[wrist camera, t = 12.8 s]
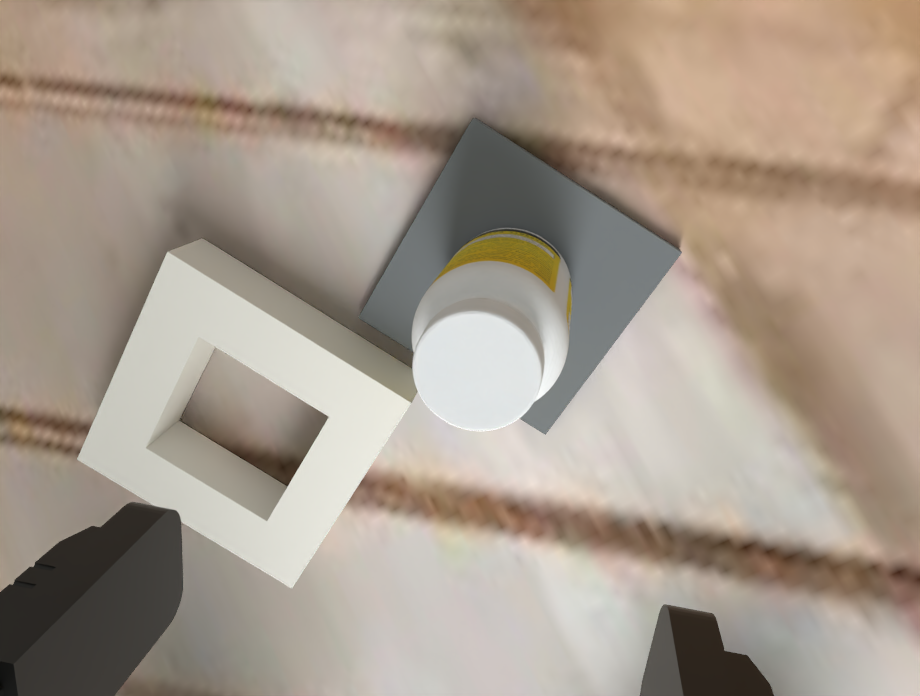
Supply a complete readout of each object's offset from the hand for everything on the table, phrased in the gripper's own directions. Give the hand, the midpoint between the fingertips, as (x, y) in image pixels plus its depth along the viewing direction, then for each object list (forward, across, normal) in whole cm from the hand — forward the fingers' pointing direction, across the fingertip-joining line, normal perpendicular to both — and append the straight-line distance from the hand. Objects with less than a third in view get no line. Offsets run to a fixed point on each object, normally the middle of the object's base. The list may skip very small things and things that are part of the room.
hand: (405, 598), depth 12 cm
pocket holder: (+21, +12, +8) cm, 25 cm away
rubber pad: (+21, 0, 0) cm, 21 cm away
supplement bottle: (+20, 0, 0) cm, 20 cm away
